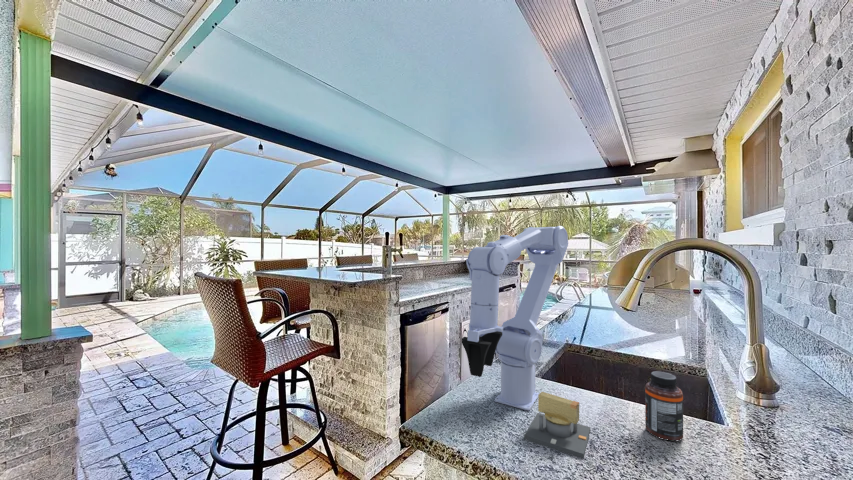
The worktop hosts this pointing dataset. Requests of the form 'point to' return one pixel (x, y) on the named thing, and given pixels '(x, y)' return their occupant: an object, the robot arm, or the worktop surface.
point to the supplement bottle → (664, 406)
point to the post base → (562, 442)
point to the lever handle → (558, 409)
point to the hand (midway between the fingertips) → (481, 370)
